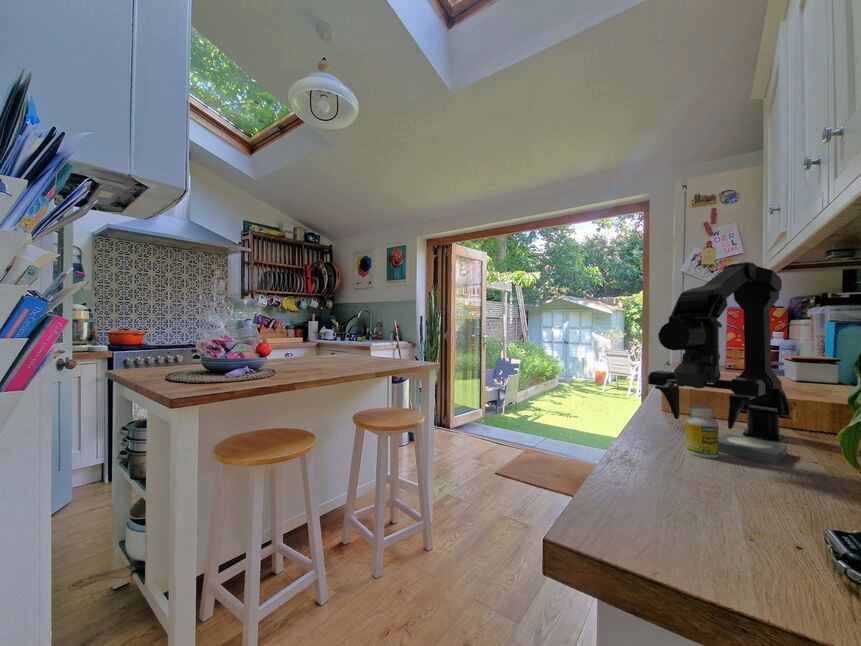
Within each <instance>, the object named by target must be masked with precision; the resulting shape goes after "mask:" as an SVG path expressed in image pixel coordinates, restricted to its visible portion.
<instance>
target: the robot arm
mask: <svg viewBox="0 0 861 646" xmlns="http://www.w3.org/2000/svg"><path fill="white" fill-rule="evenodd" d="M782 287H783V283H782V278H781V277H780V276H779V275H778V274H777V273H776V272H775V271H774V270H772V269H770V268H764V267H761V266H758V265H756V264H755V263H754V262H749V261H745V262H738V263H731V264H728V265H725V266H724V267H723V270H721V271H720V272H719V273H717V274H716V275H715V276H713V277H712V278H711V279H710V280H708V281H707V282H706V283H705V284H704V285H702V286H698V287H692V288H690V289H687V290H684V291H682V292H681V294H680V295H679V296H678V299H677V300H676V303H675V304H674V308H673V309H672V311H671V314H670V316H668V322H666V323H664V325H663V326H661V328H660V330H659V332H658V335H657V336H658V341H659V343H660V345H662V346H663V347H664V348H666V349H667V350H669V351H670V350H671V351H684V353H682V358H681V363H679V364H678V365H677V366H676V368H674V370H673V371H669V370H668V371H667V370H655V371H650V372H649V374H648V376H647V384H648V385H651V386H654V389H655V390H659V391H660V392H661V394H663V395H664V397H665V398H666V401H667V402H668V406H669V407H670V410H671V412H672V414H673V415H672V416H673V417H674V419H675V420H679V418H680V412H681V410H680V408H681V407H680V387H682V388H683V387H690V388H693V389H703V388H711V389H720V390H729V391H731V392H733V394H730V395H728V399H729V400H728V401H729V408H728V417H727V427H728V429H729V430H732V429H733V428H734V426H735V423H736V421H737V419H738V417H739V415H740V413H741V412H742V410H746V421H747V422H746V425H747V426H746V430H744V431H743V432H742V434H741V436H745V437H750V438H755V439H761V440H766V441H771V442H781V440H783V439H784V438H785V435H784V434H780V416H791V411H792V408H791V407H792V406H791V403H790V401H789V399H788V397H787V395H786V393H785V391H784V390H783V387H782V381H781V379H780V378H779V377H778V376H777V375H776V373H775V372H774V371H773V370H772V348H771V347H772V344H771V343H772V342H771V340H772V339H771V337H772V336H771V309H772V308H773V306H775V304H776V303H777V301H778V300H779V299H780V291H781V290H782ZM731 295H733V298H734V302H735V303H736V304H737V305H738V307H740V309H742V312H743V315H742V316H743V345H744V346H743V347H744V348H743V351H744V355H743V356H744V369H743V371H742V372H741V374H739V375H737V376H735V378H732V379H731V380H730V379H729V380H726V379H721V370H720V360H721V354H720V347H719V346H720V341H719V340H720V339H719V336H720V335H719V333H720V331H719V328H722V327H723V324H722V323H721V321H719V320H718V319H719V318H720V317H721V315H722V314H723V313H724V311H726V309H727V307H728V306H729V305H728V297H730V296H731Z"/></svg>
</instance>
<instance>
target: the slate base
mask: <svg viewBox="0 0 861 646" xmlns="http://www.w3.org/2000/svg"><path fill="white" fill-rule="evenodd" d="M718 440H719V441H718V442H719V453H723V454H727V455H732V456H735V457H739V458H744V459H748V460H752V461H756V462H757V461H758V462H762V463H765V464H771V465H773V466H774V465H775V466H778V464H780V462H781V461H782V460H783V459H784V458H786V456H787V455H788V444H786V443H780V442H776V441H771V440H766V439H761V438H755V437H750V436H745V435H739V434H733V433H727V432H726V433H724V434H722V435H721V436H718Z"/></svg>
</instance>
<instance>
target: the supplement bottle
mask: <svg viewBox="0 0 861 646" xmlns="http://www.w3.org/2000/svg"><path fill="white" fill-rule="evenodd" d="M689 414H690V416H687V417H686V420H685V429H686V430H685V431H686V432H685V433H686V451H687V453H689V454H690V455H693V456H695V457H699V458H705V459H716V458H718V457H719V453H720V452H719V442H718V441H719V440H718V438H719V423H718V421H717V420H716V419H715V418H714V416H715V412H714V408H712V407H711V408H710V407H705V406H690V407H689Z"/></svg>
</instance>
